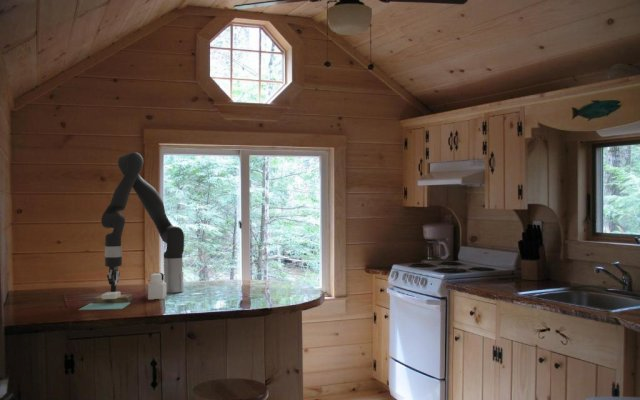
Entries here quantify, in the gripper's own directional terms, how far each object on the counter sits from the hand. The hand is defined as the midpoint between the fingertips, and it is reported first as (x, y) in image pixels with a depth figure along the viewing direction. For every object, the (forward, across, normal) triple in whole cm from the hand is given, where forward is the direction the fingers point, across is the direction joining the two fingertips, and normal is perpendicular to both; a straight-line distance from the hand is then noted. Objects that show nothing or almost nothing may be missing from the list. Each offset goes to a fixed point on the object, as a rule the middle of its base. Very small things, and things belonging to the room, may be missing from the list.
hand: (113, 293), depth 290 cm
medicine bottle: (+4, +6, -19) cm, 20 cm away
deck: (+4, -2, 0) cm, 4 cm away
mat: (+4, -15, 0) cm, 15 cm away
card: (+1, -6, 0) cm, 6 cm away
